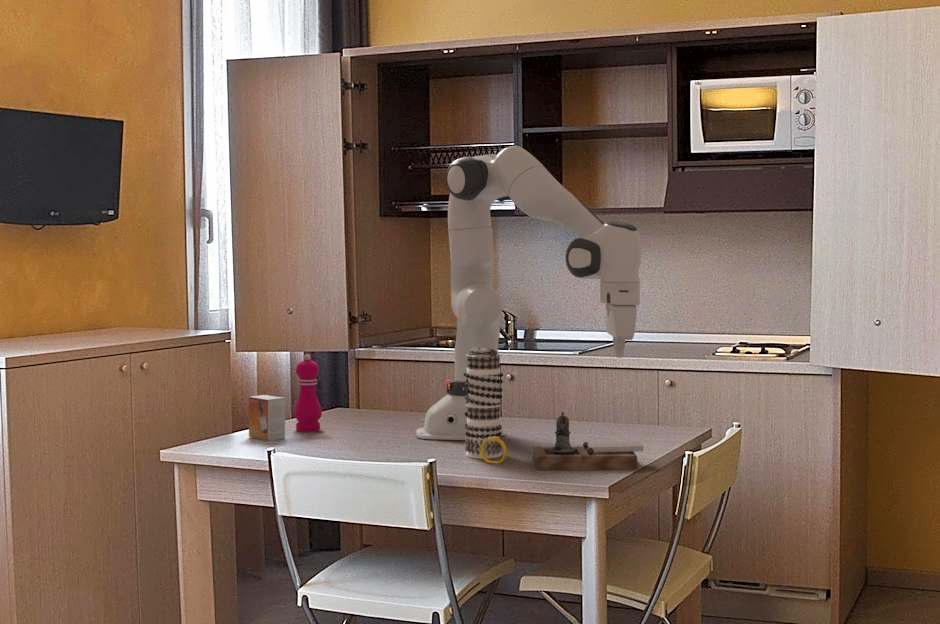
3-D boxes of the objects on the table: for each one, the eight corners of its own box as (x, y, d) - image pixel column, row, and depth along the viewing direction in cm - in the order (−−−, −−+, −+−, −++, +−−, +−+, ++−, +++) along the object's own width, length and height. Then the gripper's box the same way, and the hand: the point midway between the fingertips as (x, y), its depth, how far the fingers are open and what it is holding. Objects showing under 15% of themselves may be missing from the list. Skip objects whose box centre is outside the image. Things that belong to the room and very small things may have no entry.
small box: (248, 437, 306) (247, 396, 305) (266, 434, 310) (265, 394, 309) (268, 441, 300) (267, 399, 300) (285, 438, 305) (285, 397, 304)
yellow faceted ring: (479, 464, 272) (478, 438, 272) (484, 462, 275) (483, 436, 275) (504, 464, 270) (502, 438, 270) (509, 462, 272) (507, 436, 272)
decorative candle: (500, 459, 276) (500, 350, 274) (460, 458, 278) (460, 350, 276) (506, 452, 285) (506, 346, 283) (467, 451, 287) (467, 346, 285)
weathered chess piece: (576, 463, 271) (576, 410, 271) (575, 467, 265) (575, 413, 265) (549, 463, 272) (550, 410, 271) (548, 467, 266) (548, 413, 265)
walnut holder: (536, 470, 264) (536, 450, 263) (532, 459, 276) (532, 440, 275) (636, 469, 264) (637, 449, 264) (628, 459, 276) (628, 440, 276)
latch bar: (589, 452, 267) (589, 447, 267) (586, 448, 272) (586, 443, 272) (643, 451, 267) (643, 445, 267) (639, 447, 272) (639, 441, 272)
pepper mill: (289, 431, 315) (288, 355, 314) (303, 426, 322) (302, 352, 321) (313, 432, 313) (312, 356, 311) (326, 428, 319) (326, 353, 318)
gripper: (600, 292, 279) (598, 352, 280) (611, 297, 258) (610, 361, 259) (627, 292, 279) (626, 352, 280) (641, 297, 258) (639, 362, 259)
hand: (618, 357), depth 269 cm, fingers closed
